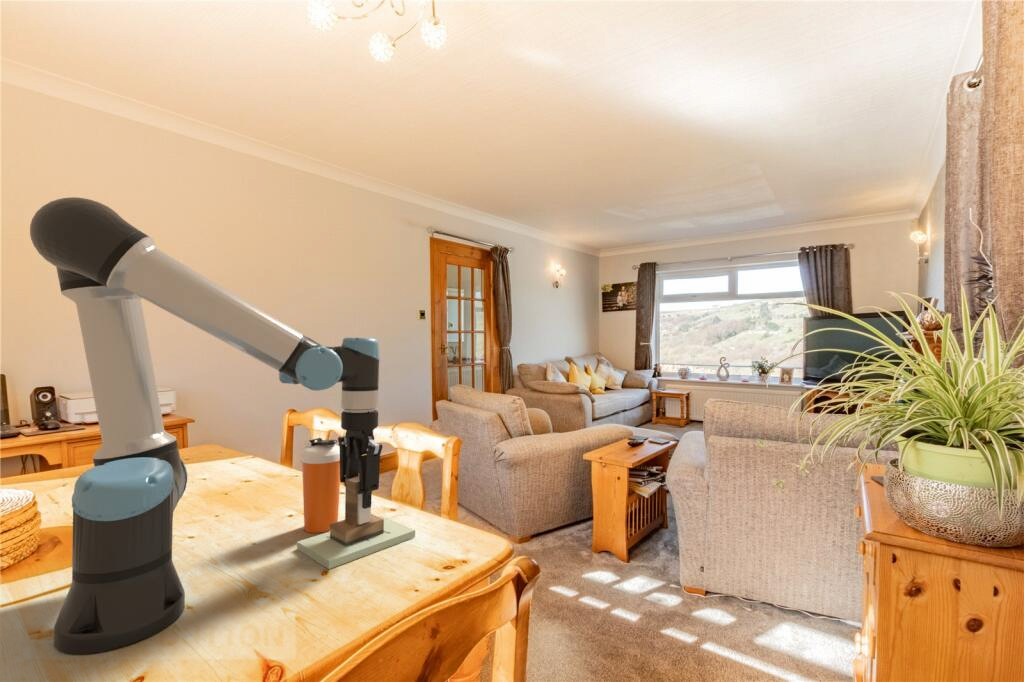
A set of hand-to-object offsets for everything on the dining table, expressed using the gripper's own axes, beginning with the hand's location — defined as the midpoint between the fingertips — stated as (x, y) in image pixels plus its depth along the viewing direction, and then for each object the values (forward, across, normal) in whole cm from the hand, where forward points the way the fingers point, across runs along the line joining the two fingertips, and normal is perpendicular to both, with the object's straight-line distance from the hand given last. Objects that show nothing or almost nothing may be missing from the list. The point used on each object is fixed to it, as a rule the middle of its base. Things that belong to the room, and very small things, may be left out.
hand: (358, 519), depth 101 cm
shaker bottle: (+5, +14, +1) cm, 15 cm away
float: (+3, 0, 0) cm, 3 cm away
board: (+5, 0, 0) cm, 5 cm away
